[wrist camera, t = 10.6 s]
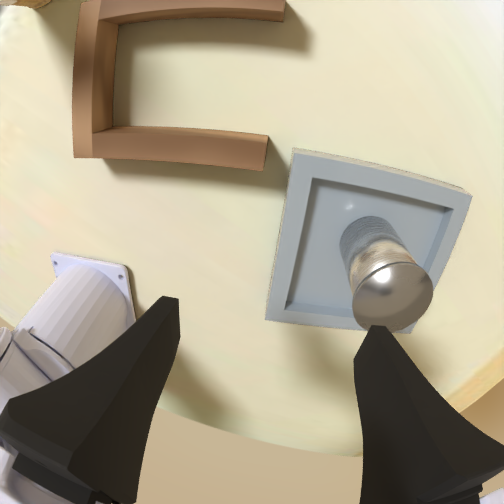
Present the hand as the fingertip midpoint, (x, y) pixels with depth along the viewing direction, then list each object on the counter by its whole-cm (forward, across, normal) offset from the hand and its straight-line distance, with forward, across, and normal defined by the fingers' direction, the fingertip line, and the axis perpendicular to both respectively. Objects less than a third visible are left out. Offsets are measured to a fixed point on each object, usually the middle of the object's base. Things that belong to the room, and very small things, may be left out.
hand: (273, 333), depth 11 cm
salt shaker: (+9, -6, 0) cm, 11 cm away
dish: (+10, -6, +1) cm, 12 cm away
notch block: (+10, +7, -9) cm, 15 cm away
